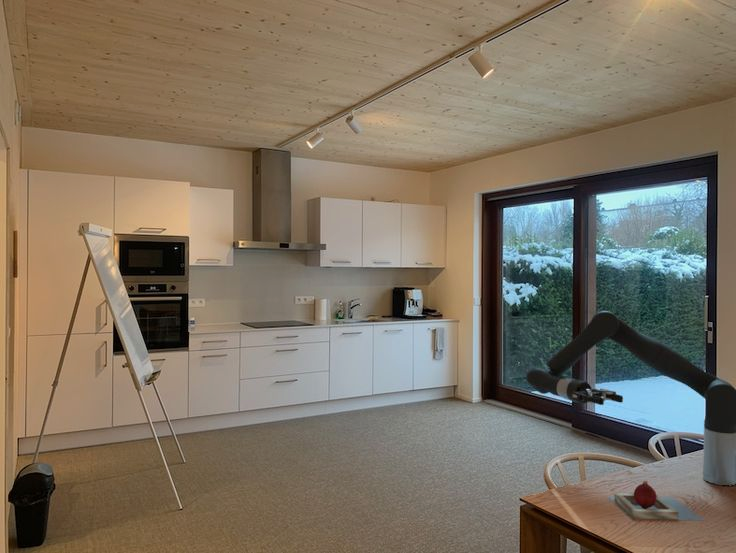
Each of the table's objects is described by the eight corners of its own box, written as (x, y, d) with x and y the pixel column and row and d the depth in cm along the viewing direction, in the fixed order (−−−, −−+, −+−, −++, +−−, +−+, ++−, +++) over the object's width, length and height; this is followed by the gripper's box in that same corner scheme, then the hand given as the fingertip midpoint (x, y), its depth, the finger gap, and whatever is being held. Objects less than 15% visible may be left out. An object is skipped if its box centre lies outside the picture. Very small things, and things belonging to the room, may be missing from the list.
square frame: (654, 500, 161) (655, 493, 161) (678, 519, 149) (678, 511, 149) (614, 499, 161) (614, 493, 161) (634, 518, 149) (634, 511, 149)
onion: (658, 514, 152) (659, 486, 152) (636, 512, 153) (637, 484, 153) (652, 505, 157) (653, 478, 157) (631, 503, 159) (632, 476, 159)
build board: (673, 502, 164) (673, 497, 164) (704, 525, 149) (704, 520, 149) (607, 501, 164) (607, 496, 164) (631, 524, 149) (631, 519, 149)
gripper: (558, 380, 186) (596, 390, 171) (589, 377, 192) (628, 387, 177) (558, 402, 186) (596, 414, 171) (588, 399, 192) (628, 410, 177)
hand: (612, 400), depth 174 cm, fingers open, 8 cm apart
